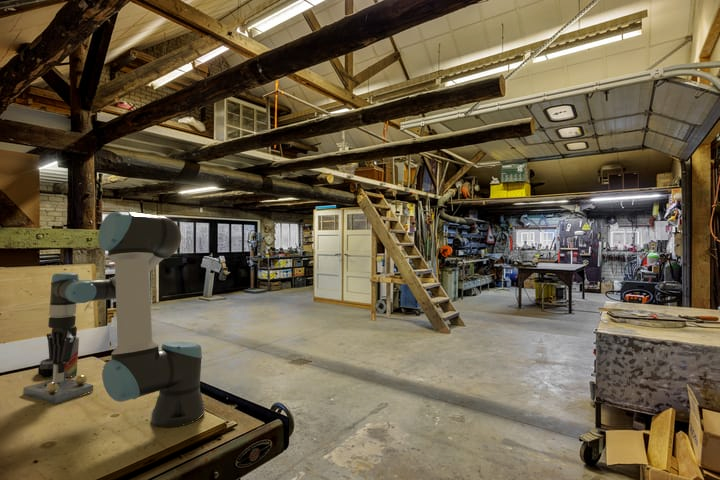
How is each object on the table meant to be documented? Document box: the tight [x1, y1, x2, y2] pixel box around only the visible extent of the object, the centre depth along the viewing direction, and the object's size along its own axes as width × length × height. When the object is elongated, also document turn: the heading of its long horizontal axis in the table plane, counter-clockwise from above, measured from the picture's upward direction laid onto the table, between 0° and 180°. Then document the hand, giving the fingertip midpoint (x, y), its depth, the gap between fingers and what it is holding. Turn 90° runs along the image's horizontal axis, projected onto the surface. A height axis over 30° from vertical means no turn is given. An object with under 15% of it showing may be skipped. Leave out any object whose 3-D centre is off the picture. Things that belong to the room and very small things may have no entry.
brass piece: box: [75, 374, 88, 384], centre depth 131 cm, size 3×3×3 cm
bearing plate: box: [22, 378, 94, 405], centre depth 128 cm, size 18×12×2 cm, turn 69°
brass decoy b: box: [46, 383, 59, 393], centre depth 123 cm, size 3×3×3 cm
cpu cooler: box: [37, 358, 54, 378], centre depth 148 cm, size 10×6×10 cm
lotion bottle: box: [64, 325, 80, 378], centre depth 146 cm, size 6×6×20 cm
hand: (58, 381), depth 129 cm, fingers closed
